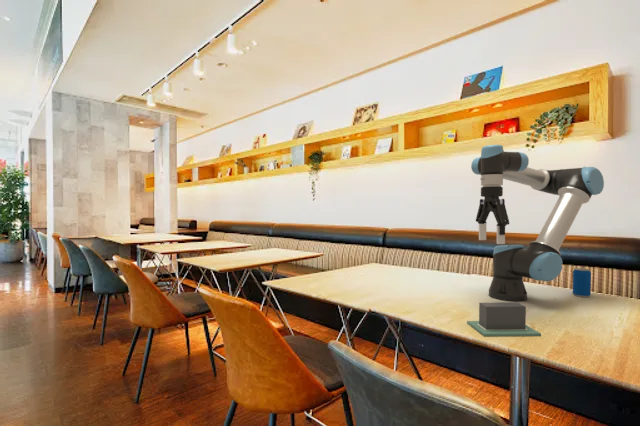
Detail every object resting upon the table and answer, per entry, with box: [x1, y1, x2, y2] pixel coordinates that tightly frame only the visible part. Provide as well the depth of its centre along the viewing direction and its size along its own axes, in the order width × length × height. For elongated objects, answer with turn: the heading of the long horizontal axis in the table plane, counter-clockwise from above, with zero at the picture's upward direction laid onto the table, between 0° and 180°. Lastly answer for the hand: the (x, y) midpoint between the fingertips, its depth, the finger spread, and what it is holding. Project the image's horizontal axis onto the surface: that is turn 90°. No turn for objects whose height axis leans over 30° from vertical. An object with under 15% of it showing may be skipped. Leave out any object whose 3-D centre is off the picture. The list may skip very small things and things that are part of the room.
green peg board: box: [466, 320, 542, 337], centre depth 116 cm, size 18×12×6 cm, turn 91°
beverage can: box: [572, 267, 592, 298], centre depth 158 cm, size 6×6×12 cm
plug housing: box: [478, 301, 527, 330], centre depth 116 cm, size 13×5×7 cm, turn 91°
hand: (491, 241), depth 135 cm, fingers open, 13 cm apart
